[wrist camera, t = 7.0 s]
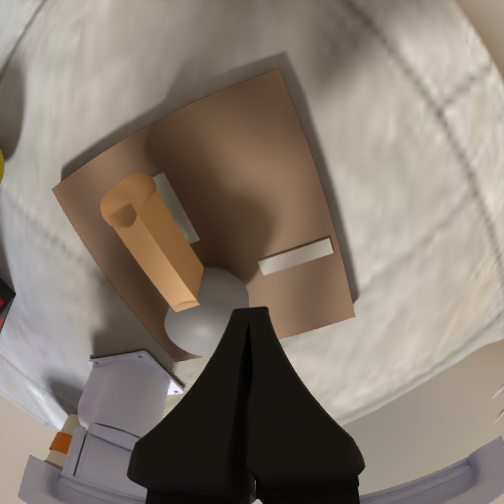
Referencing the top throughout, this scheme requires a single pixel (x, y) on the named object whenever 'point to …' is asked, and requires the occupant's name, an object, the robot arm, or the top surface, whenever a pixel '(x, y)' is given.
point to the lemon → (1, 165)
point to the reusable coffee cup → (62, 442)
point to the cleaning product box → (5, 301)
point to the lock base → (224, 207)
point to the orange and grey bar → (173, 266)
